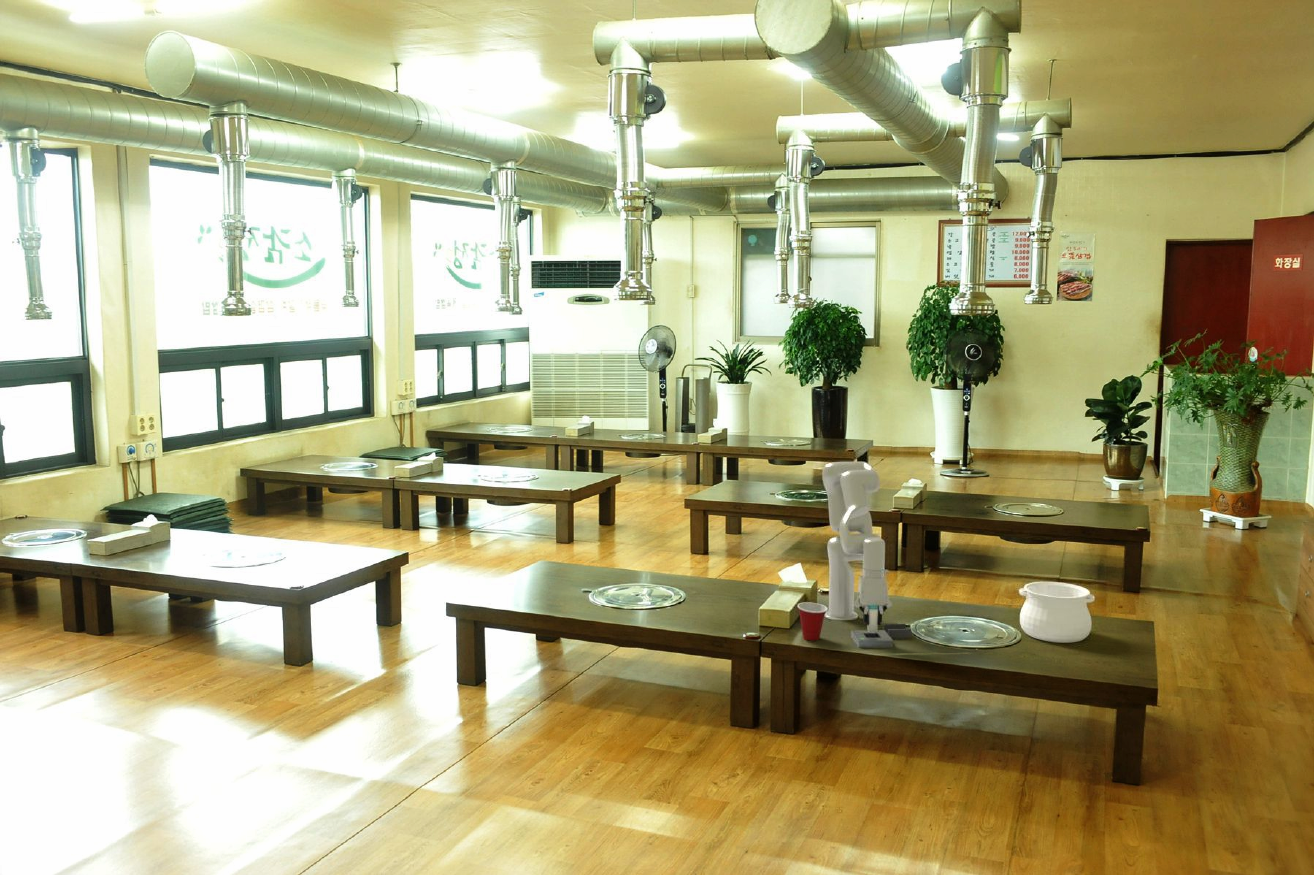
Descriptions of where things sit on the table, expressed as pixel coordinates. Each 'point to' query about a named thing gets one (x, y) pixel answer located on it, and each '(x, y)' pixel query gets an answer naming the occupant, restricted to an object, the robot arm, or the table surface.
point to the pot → (1056, 611)
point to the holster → (897, 630)
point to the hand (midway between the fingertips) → (872, 623)
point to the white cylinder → (873, 619)
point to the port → (871, 639)
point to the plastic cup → (811, 619)
